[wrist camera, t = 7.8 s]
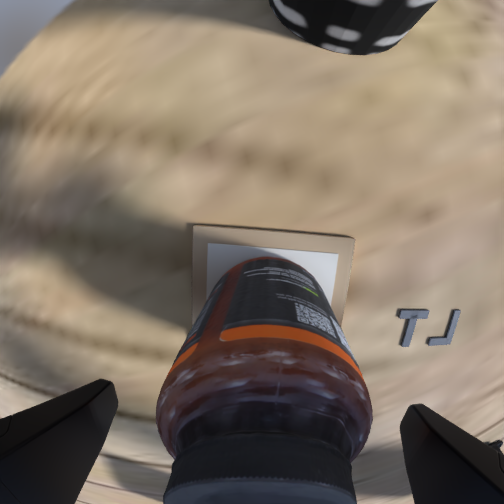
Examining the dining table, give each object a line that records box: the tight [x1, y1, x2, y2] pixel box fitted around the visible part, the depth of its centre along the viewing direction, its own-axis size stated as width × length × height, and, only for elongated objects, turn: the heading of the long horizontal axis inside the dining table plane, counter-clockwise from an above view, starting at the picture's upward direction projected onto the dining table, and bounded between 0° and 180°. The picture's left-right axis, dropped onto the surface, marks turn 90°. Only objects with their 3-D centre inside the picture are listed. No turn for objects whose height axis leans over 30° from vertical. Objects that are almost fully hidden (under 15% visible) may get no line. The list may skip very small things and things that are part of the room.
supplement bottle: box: [156, 256, 373, 504], centre depth 9 cm, size 6×6×11 cm
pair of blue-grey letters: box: [399, 310, 461, 347], centre depth 15 cm, size 2×5×1 cm, turn 86°
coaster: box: [192, 225, 355, 327], centre depth 15 cm, size 8×8×1 cm
